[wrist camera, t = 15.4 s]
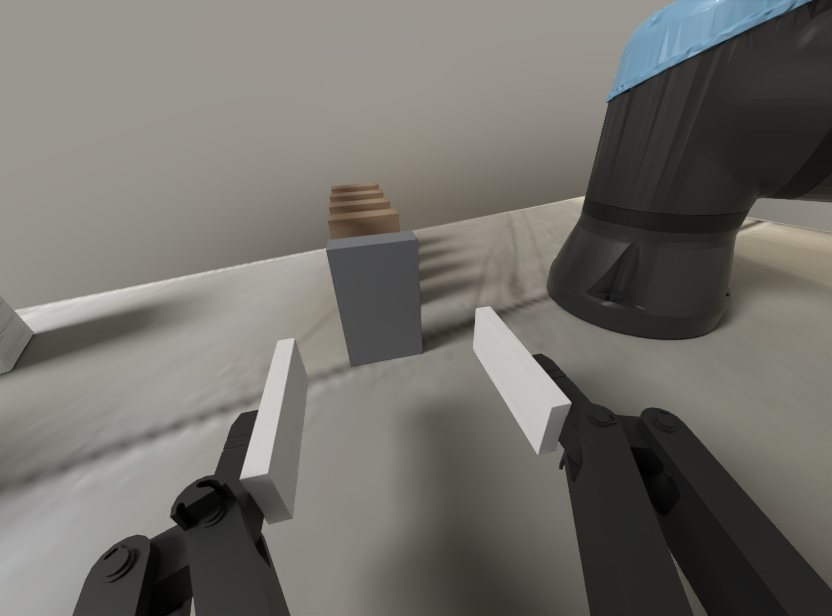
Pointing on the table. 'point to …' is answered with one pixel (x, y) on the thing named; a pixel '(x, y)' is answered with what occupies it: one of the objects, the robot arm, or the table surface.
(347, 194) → the walnut domino
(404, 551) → the table surface
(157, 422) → the table surface
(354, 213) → the walnut domino
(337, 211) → the walnut domino
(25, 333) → the supplement box
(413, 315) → the charcoal domino
